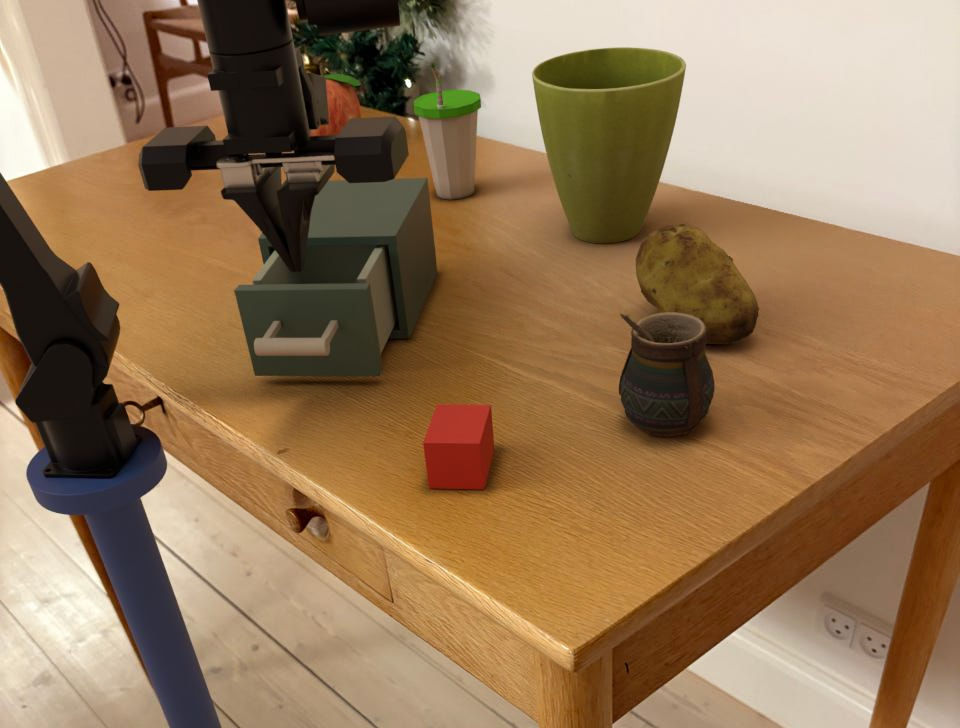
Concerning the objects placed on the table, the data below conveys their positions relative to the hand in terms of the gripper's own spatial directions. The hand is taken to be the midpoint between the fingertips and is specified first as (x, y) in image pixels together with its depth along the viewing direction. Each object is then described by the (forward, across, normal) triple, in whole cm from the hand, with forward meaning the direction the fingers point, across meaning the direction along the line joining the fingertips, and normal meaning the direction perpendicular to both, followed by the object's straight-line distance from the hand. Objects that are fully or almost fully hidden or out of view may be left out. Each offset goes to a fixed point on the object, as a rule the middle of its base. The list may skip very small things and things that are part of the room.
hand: (297, 270), depth 81 cm
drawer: (+11, +1, -8) cm, 13 cm away
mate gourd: (+12, -28, +3) cm, 31 cm away
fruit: (+12, +17, -70) cm, 73 cm away
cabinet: (+12, +2, -20) cm, 23 cm away
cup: (+12, -3, -50) cm, 52 cm away
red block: (+12, -13, +10) cm, 20 cm away
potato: (+12, -30, -14) cm, 36 cm away
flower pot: (+12, -22, -37) cm, 45 cm away
